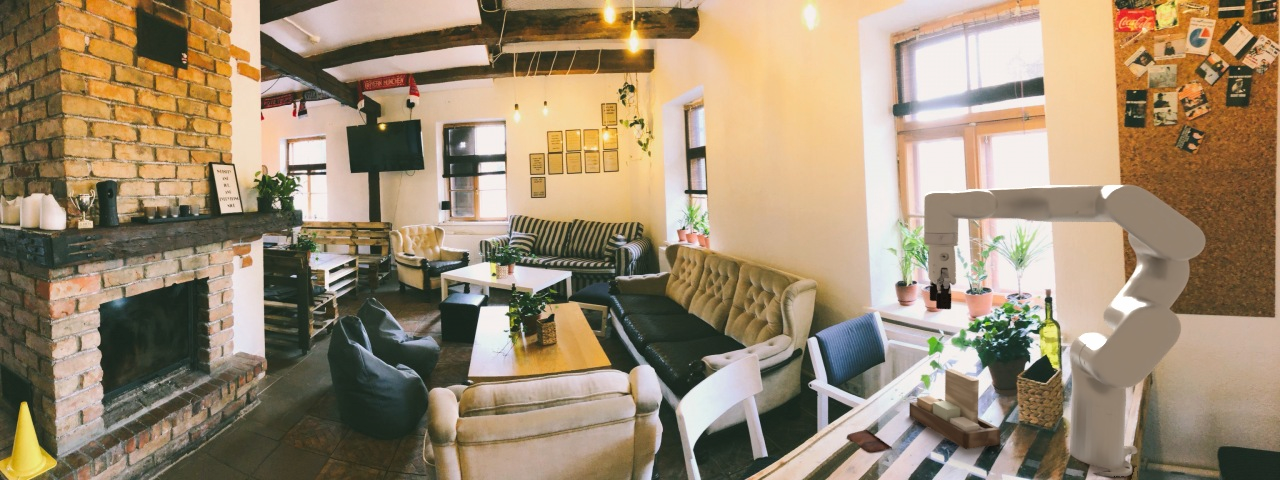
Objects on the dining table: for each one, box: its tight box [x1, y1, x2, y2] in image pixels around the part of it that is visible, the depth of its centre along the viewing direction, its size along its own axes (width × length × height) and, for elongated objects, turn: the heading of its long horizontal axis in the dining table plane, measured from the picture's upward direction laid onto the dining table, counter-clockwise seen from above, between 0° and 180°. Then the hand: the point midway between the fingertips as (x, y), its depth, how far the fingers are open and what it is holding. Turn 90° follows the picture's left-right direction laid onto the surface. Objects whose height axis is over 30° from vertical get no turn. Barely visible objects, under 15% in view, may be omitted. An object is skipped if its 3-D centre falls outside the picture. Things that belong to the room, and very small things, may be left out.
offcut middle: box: [933, 400, 960, 423], centre depth 136 cm, size 4×5×7 cm
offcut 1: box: [916, 395, 940, 413], centre depth 142 cm, size 4×5×6 cm
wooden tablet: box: [846, 429, 893, 453], centre depth 138 cm, size 26×2×10 cm
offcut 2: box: [950, 417, 979, 432], centre depth 131 cm, size 4×5×5 cm
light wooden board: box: [944, 368, 980, 424], centre depth 137 cm, size 2×9×15 cm, turn 10°
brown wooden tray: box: [908, 398, 1002, 450], centre depth 137 cm, size 10×20×6 cm, turn 10°
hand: (939, 304), depth 131 cm, fingers open, 9 cm apart
